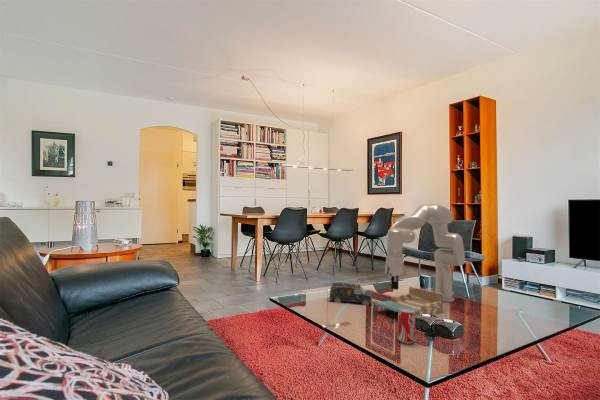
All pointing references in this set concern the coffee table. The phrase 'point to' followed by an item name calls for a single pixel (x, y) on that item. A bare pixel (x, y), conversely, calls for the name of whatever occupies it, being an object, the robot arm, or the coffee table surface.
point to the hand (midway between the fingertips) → (394, 288)
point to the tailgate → (394, 306)
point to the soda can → (406, 325)
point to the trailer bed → (421, 300)
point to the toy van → (349, 293)
